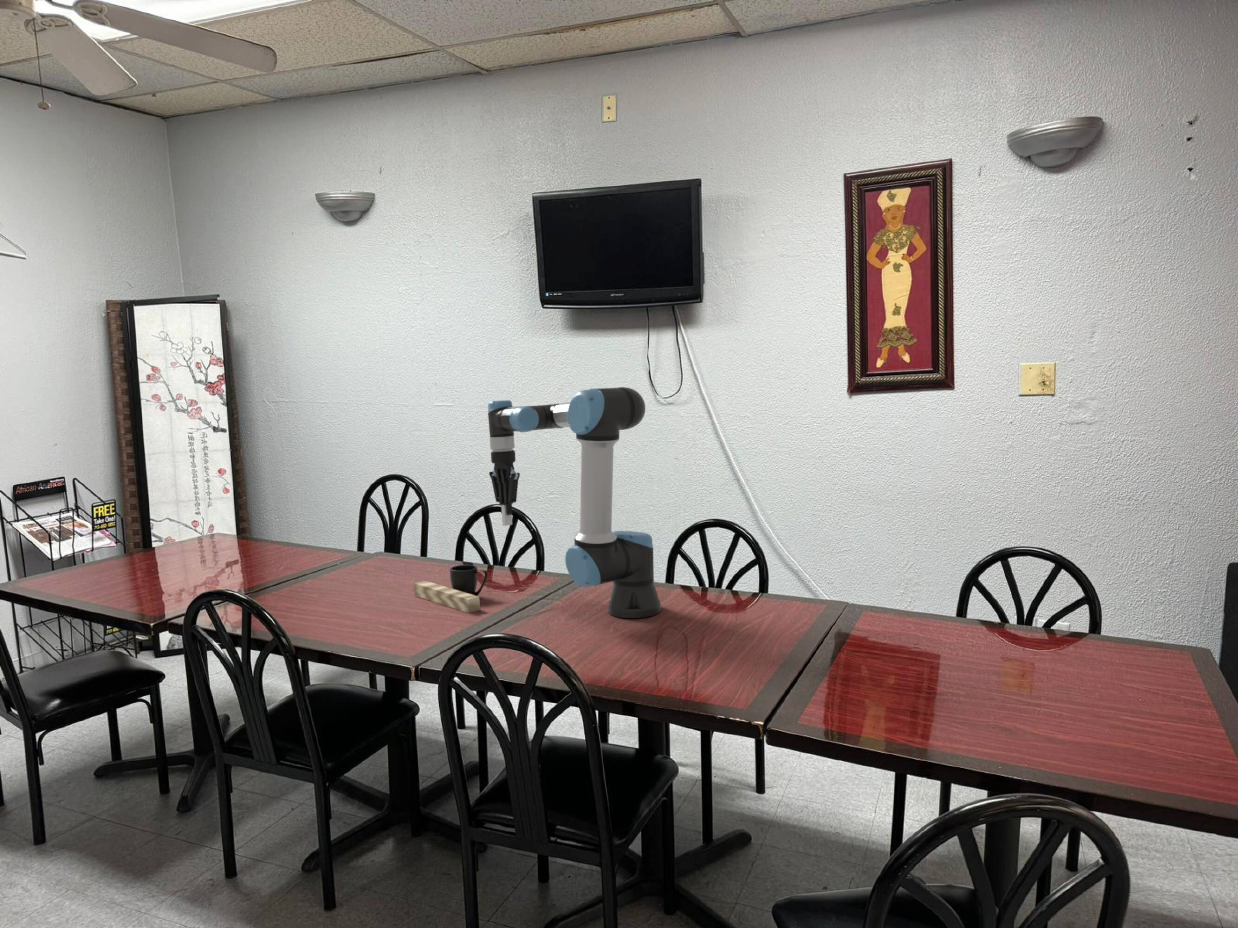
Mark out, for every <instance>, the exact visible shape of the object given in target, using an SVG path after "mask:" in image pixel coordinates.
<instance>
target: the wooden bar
mask: <svg viewBox="0 0 1238 928" xmlns="http://www.w3.org/2000/svg"><path fill="white" fill-rule="evenodd" d="M413 587H414V588H413V589H414V591H413V592H414V596H415V597H419V598H422V599H423V600H427V601H431V602H433V603H436V604H440V605H443V606H446V607H449V608H452V609H454V610H458V611H461V612H464V613H468V614H470V613H474V612H478V611H481V604H480V603H481V601H480V596H479V595H478V596H475V595H472V594H469V593H465V592H462V591H458V590H455V589H453V588H452V587H448V586H443V585H440V584H438V583H434V582H431V581H427V580H421V581H418V582H413Z"/></svg>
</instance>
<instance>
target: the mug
mask: <svg viewBox="0 0 1238 928" xmlns="http://www.w3.org/2000/svg"><path fill="white" fill-rule="evenodd" d="M479 573H483V574H484V578H483V580H482V583H481V585H480V587H479V588H478V590H477V586H478V585H477V584H478V574H479ZM449 575H450V576H449V577H450V584H451V588H452V589H455V590H458V591H462V592H465V593H469V594H472V595H475V596H479V595H480V593H481V592H482V590H483V588H484V586H485V584H486V582H487V580H488V578H489V571H487V570H486V569H480V570H479V569H478V566H476V565H474V564H461V565H460V564H459V565H455V566H452V567H450V568H449ZM476 590H477V591H476Z"/></svg>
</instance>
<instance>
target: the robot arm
mask: <svg viewBox="0 0 1238 928" xmlns="http://www.w3.org/2000/svg"><path fill="white" fill-rule="evenodd" d="M487 410H488V411H487V417H488V418H487V419H488V429H489V430H488V431H489V432H488V433H489V445H490V446H489V449H490V450H492V451H491V452H490V461H491V463H492V464H493V465H494V466H493V470H492V471H489V472H488V475H489V477H490V480H491V484H492V488H493V493H494V498H495V502H496V503H499V505H500V513H501V519H502V526H504V527H507V526H512V525H513V504H514V503H517V499H518V497H517V496H518V488H519V487H518V485H519V478H520V476H521V474H520V472H516V470H515V466H514V463H515V462H516V460H517V459H516V451H515V450H514V449H515V446H516V445H515V432H517V433H518V432H520V433H527V432H532V431H542V430H550V429H564V428H570V430H571V431H572V433H574V434H575V438H576V441H578V442H579V444H580V445H581V453H580V454H581V455H580V456H581V461H580V462H581V463H580V464H581V465H580V468H581V469H580V470H581V471H580V473H581V474H580V512H579V513H580V515H579V516H580V521H579V523H580V524H579V525H580V526H579V527H580V528H579V529H580V530H579V531H578V532H577V533H576V534H574V542H573V544H574V545H572V546H570V547H569V548H568V549H567V550H566V553H565V555H564V558H565V559H564V561H565V562H564V563H565V566H566V571H567V574H569V576H570V578H571V580H573V582H574V583H575V584H576V585H579V586H580V587H583V588H587V587H597V586H599V585H602V584H607V583H610V582H613V587H612V591H611V595H610V600H609V601H608V604H607V605H608V606H607V607H608V614H610V615H611V616H614V617H617V618H622V619H624V618H625V619H639V618H640V619H641V618H648V617H649V618H650V617H652V616H655V615H657V614H660V612H661V611H662V607H661V605H662V604H661V600H660V598H659V596H658V592H657V589H656V586H655V574H654V573H655V571H654V549H655V548H654V545H653V537H652V536H651V535H650V534H649V533H646V532H642V531H633V530H614V531H612V523H613V520H612V519H613V514H612V513H613V485H614V484H613V481H614V479H613V476H614V474H613V473H614V446H615V444H617V443H618V441H619V440H620V431H623V430H624V431H625V430H629V429H632V428H634V427H636V426H638V425H639V424H640V423H641V422H642V420H643V419H644V417H645V413H646V402H645V400H644V397H643V396H642V395H641V393H639V392H638V391H637V390H635V389H634V388H630V387H624V386H621V387H620V386H619V387H602V388H601V387H600V388H595V387H594V388H589V389H583V390H580V391H578V392H576V393H575V394H574V395H573V397H572V398H571V400H570V401H569V402H560V403H551V404H541V405H540V404H539V405H538V404H537V405H523V406H513V402H512V401H511V400H510V399H508V400H507V399H506V400H505V399H504V400H503V399H502V400H491V401H489V402H488V404H487Z"/></svg>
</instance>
